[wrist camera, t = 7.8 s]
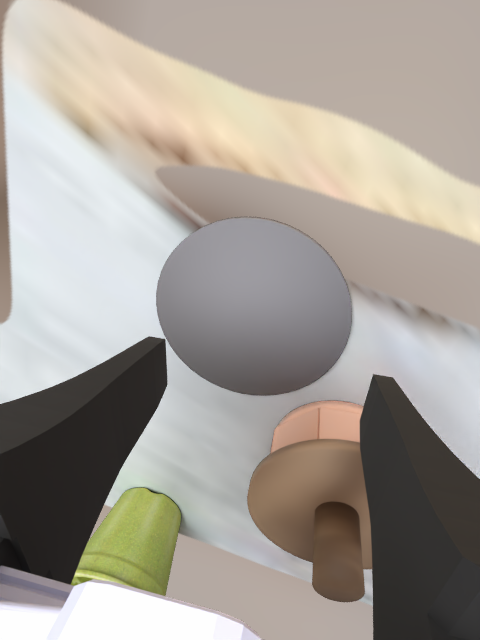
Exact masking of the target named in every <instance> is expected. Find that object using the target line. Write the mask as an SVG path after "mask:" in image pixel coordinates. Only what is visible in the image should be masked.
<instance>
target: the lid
mask: <svg viewBox="0 0 480 640" xmlns="http://www.w3.org/2000/svg"><path fill="white" fill-rule="evenodd" d="M247 502H248V509H249V512H250V515H251V517H252V519H253V521H254V523H255V524H256V526H257V527H258V528H259V530H260V531H261V532H262V533H263V534H264V535H265V536H266V537H267V538H268V539H269V540H270V541H272V542H273V543H274V544H276V545H277V546H279V547H280V548H282V549H283V550H285V551H287V552H289V553H291V554H292V555H294V556H297V557H299V558H301V559H304V560H307V561H310V562H313V577H312V585H313V588H314V589H315V591H316V592H317V593H318V594H320V595H322V596H323V597H325V598H327V599H330V600H334V601H339V602H353V601H357V600H359V599H361V598H362V597H363V596H364V594H365V588H364V574H363V569H372V545H371V525H370V515H369V508H368V501H367V494H366V487H365V480H364V473H363V466H362V459H361V452H360V443H359V442H355V441H349V440H341V439H314V440H307V441H301V442H297V443H293V444H290V445H287V446H285V447H282V448H280V449H278V450H276V451H274V452H273V453H271V454H269V455H268V456H267V457H266V458H264V459H263V460H262V461H261V462H260V463H259V465H258V466H257V467H256V469H255V471H254V472H253V475H252V477H251V480H250V485H249V490H248V496H247Z"/></svg>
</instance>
